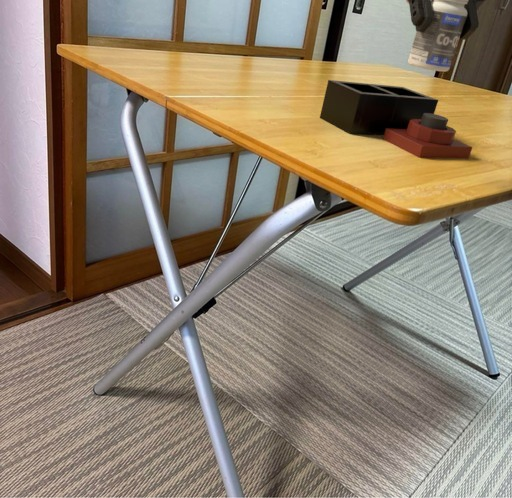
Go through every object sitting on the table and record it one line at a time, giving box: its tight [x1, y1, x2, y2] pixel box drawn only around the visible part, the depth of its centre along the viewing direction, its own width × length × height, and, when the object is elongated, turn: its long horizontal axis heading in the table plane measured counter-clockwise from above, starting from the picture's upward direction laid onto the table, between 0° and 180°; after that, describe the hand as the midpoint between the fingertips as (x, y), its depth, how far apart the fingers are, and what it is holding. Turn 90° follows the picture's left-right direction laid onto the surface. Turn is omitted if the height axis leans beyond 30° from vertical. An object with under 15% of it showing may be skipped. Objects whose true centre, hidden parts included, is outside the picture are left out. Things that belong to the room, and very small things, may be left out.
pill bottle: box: [407, 0, 469, 73], centre depth 57 cm, size 5×5×8 cm
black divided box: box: [319, 79, 439, 137], centre depth 81 cm, size 16×8×6 cm, turn 117°
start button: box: [420, 113, 449, 130], centre depth 74 cm, size 4×4×2 cm
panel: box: [382, 119, 473, 159], centre depth 75 cm, size 10×8×4 cm
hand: (446, 30), depth 56 cm, fingers closed on pill bottle, 4 cm apart
